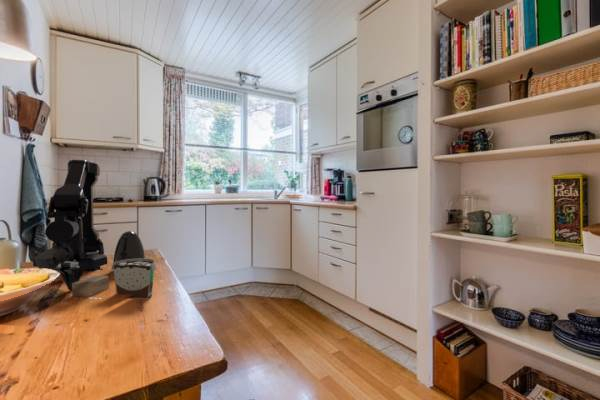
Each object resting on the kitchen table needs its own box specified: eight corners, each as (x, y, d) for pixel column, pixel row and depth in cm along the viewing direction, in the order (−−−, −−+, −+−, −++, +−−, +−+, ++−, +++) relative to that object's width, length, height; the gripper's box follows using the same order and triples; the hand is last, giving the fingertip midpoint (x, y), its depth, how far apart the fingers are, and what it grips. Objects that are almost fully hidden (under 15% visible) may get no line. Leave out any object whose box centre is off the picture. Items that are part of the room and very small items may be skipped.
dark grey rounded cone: (107, 277, 99) (106, 233, 98) (121, 269, 109) (120, 229, 108) (139, 276, 100) (138, 233, 99) (150, 268, 110) (149, 228, 110)
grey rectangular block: (72, 295, 79) (71, 283, 79) (93, 287, 86) (93, 275, 86) (88, 296, 78) (88, 284, 78) (108, 288, 85) (108, 276, 85)
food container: (165, 291, 86) (165, 258, 85) (153, 299, 80) (152, 263, 79) (126, 290, 87) (126, 257, 86) (111, 297, 81) (111, 262, 80)
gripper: (10, 240, 75) (12, 298, 76) (73, 242, 73) (75, 303, 74) (51, 233, 86) (53, 284, 87) (108, 235, 84) (109, 287, 85)
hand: (71, 289), depth 83 cm, fingers closed
